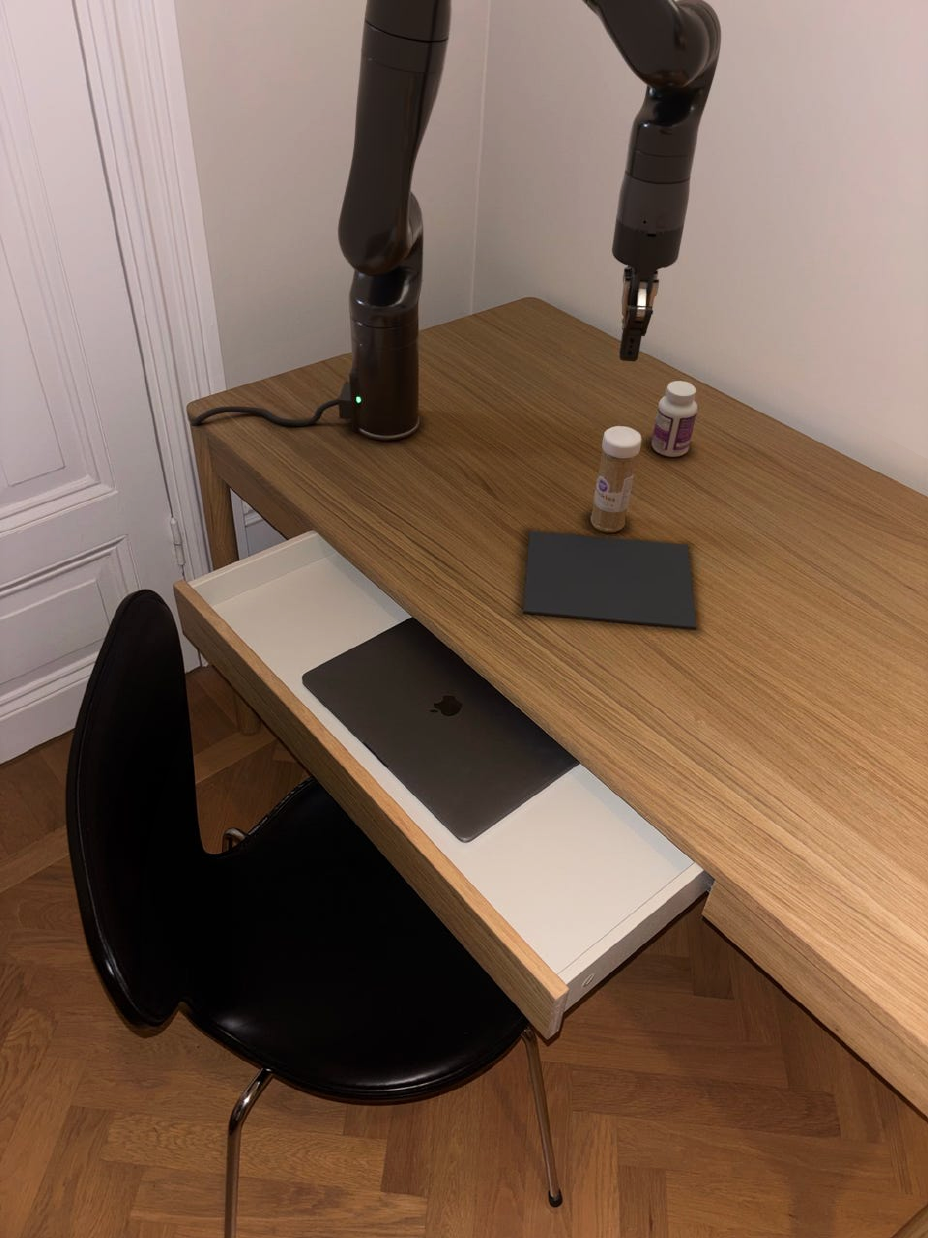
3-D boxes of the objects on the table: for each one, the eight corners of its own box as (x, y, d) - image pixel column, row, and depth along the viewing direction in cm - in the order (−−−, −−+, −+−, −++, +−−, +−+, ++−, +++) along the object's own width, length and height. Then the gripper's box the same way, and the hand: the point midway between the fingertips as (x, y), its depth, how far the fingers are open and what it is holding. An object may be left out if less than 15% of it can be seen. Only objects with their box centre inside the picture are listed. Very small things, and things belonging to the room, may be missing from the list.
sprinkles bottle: (583, 523, 123) (596, 435, 113) (603, 507, 125) (617, 420, 116) (612, 538, 121) (628, 449, 111) (632, 522, 123) (649, 434, 114)
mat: (522, 613, 110) (523, 610, 110) (529, 533, 121) (529, 530, 121) (695, 629, 109) (696, 627, 109) (687, 547, 120) (687, 544, 120)
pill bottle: (687, 438, 138) (700, 379, 131) (689, 459, 134) (703, 399, 127) (649, 435, 138) (661, 376, 131) (651, 456, 134) (663, 396, 128)
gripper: (615, 191, 109) (597, 330, 121) (617, 236, 100) (597, 383, 112) (681, 195, 109) (656, 335, 121) (689, 241, 100) (661, 387, 112)
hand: (628, 358), depth 116 cm, fingers closed
